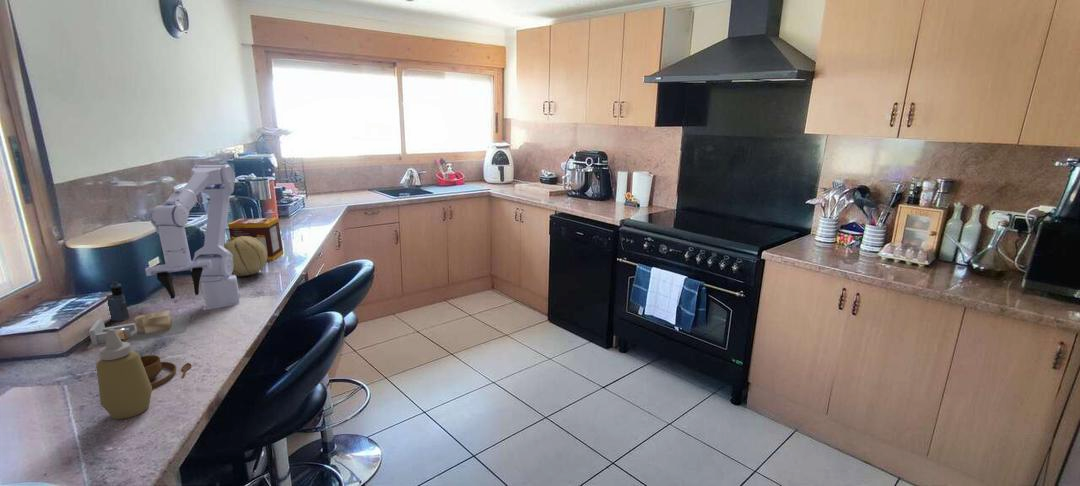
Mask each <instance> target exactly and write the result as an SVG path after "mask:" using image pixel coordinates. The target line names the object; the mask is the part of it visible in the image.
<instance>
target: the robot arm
mask: <svg viewBox="0 0 1080 486" xmlns="http://www.w3.org/2000/svg"><path fill="white" fill-rule="evenodd" d="M190 176H191V177H190V178H189V180H188V181H187V182H186V184H185V186H183V188H181V187H180V188H175V190H174V191H173V193H172V194H171V195H170V196H168V199H166V200H165V202H163V203H162V205H156V206H155V207H154V208H152V209H151V211H150V218H149V221H150V223H151V225H152V226H153V227H154V228H155V232H156V233H157V234H159V241H160V245H161V249H162V252H163V257H164V263H165V264H159V265H154V266H147V267H146V268H145V274H146V277H149V276H152V275H156V279H157V280H158V282H159V283H161V285H162V286H163V287H164V288H165V289H166V291H167V293H168V295H169V296H170V297H169V298H170V299H172V300H173V299H175V297H176V292H175V288H174V286H173V280H172V279H173V278H172V273H175V272H185V271H190V276H191V279H192V283H193V290H194V294H195V296H198V295H199V294H200V284H201V289H202V294H203V300H204V304H203V307H202V310H203V311H206V310H211V309H218V308H223V307H224V308H225V307H231V306H238V305H239V304H240V299H241V292H240V291H239V284H238V283H239V282H238V278H237V275H234V274H231V273H232V272H233V268H234V265H233V255H232V253H231V252H229V251H228V250H227V249H225V248H224V245H225V243H226V242H225V241H226V240H225V239H226V231H227V226H228V215H229V206H230V197H231V195H232V194H233V193H234V190H235V182H236V174H235V172H234V170H233V167H232V166H231V165H230V164H228V163H227V164H195V165H194V166H193V167H192V169H191V170H190ZM201 192H202V193H203V194H205V195H206V196H207V195H208V197H209V204H208V212H207V219H206V229H205V233H204V235H205V236H204V243H203V246H202V247H201V248H199V249H197V250H196V251H195V252H194V255H193V258H191V257H192V256H191V252H190V248H189V243H188V237H187V234H186V225H187V224H188V220H189V215H190V212H191V210H192V209H193V208H194V206H195V205H196V204H197V203H198V198H197V196H198V195H199V194H200V193H201Z"/></svg>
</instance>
